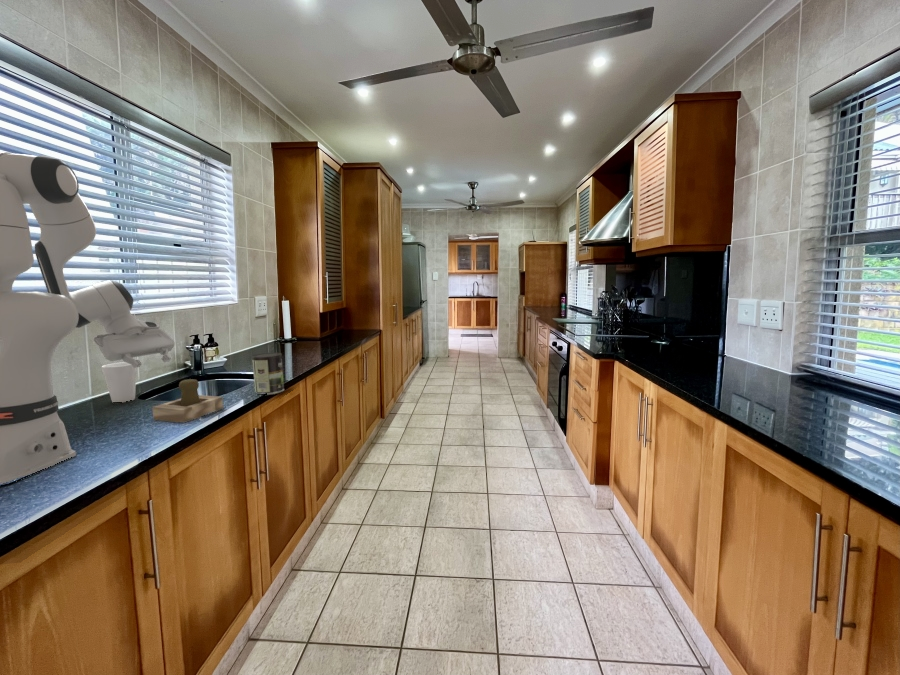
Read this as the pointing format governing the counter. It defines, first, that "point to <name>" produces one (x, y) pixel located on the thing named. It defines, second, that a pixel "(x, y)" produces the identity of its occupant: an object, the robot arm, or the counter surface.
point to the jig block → (186, 409)
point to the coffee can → (268, 373)
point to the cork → (189, 392)
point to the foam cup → (120, 381)
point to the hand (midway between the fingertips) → (153, 363)
